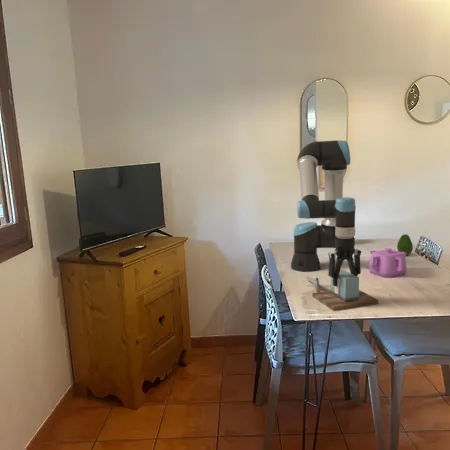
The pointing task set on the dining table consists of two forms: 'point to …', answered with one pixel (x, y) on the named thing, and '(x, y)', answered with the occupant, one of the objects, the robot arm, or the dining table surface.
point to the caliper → (314, 282)
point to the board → (338, 303)
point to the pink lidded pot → (387, 263)
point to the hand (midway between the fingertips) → (344, 292)
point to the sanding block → (347, 286)
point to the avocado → (405, 244)
